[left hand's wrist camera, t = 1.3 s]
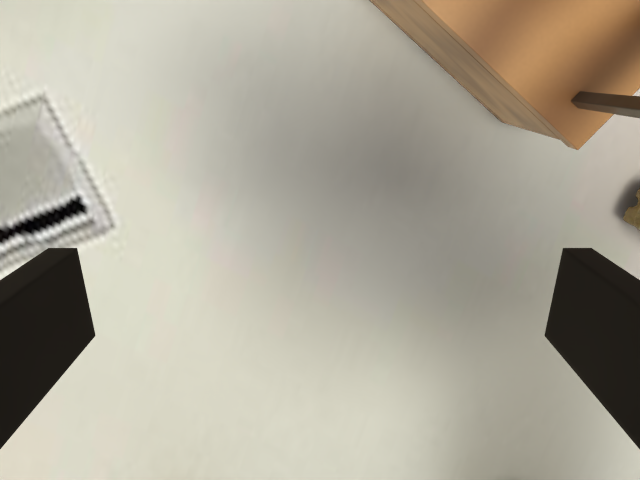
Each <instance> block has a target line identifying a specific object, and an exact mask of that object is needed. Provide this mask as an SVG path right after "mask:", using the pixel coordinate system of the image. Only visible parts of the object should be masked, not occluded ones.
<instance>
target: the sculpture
mask: <svg viewBox="0 0 640 480" xmlns="http://www.w3.org/2000/svg"><path fill="white" fill-rule="evenodd" d="M636 197H637V199H638V204H637V205H636V206H635V207H629V208H628V209H627V211H626V212H625V215H624V217H623V220H624V221H626V222H627V223H629V224H631V225H633V226H635V227H636V228H637V229H638V230H639V231H640V188H639V190H638V191H637V193H636Z"/></svg>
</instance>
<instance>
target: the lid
mask: <svg viewBox="0 0 640 480" xmlns="http://www.w3.org/2000/svg"><path fill="white" fill-rule="evenodd" d="M414 1H415V2H416V3H417V4H418V5H419V6H420V7H421V8H423V9H424V10H425V11H426V12H427V13H428V14H429V15H430V16H431V17H432V18H433V19H434V20H435V21H436V22H437V23H438V24H439V25H440V26H441V27H443V28H444V29H445V30H446V31H447V32H448V33H449V34H450V35H451V36H452V37H453V38H454V39H455V40H456V41H457V42H458V43H459V44H460V45H461V46H462V47H464V48H465V49H466V50H467V51H468V52H469V53H470V54H471V55H472V56H473V57H474V58H475V59H476V60H477V61H478V62H479V63H480V64H481V65H482V66H484V67H485V68H486V69H487V70H488V71H489V72H490V73H491V74H492V75H493V76H494V77H495V78H496V79H497V80H498V81H499V82H500V83H501V84H502V85H504V86H505V87H506V88H507V89H508V90H509V91H510V92H511V93H512V94H513V95H514V96H515V97H516V98H517V99H518V100H519V101H520V102H521V103H522V104H523V105H525V106H526V107H527V108H528V109H529V110H530V111H531V112H532V113H533V114H534V115H535V116H536V117H537V118H538V119H539V120H540V121H541V122H542V123H543V124H545V125H546V126H547V127H548V128H549V129H550V130H551V131H552V132H553V133H554V134H555V135H556V136H557V137H558V138H559V139H560V140H561V141H562V142H563V143H564V144H566V145H567V146H568V147H570V148H573V149H576V150H578V149H579V148H580V147H581V146H582V145H583V144H584V143H585V142H586V141H587V140H588V139H589V138H590V137H591V136H592V135H593V134H594V133H595V132H596V131H597V130H598V129H599V128H600V127H601V126H602V125H603V124H604V123H605V122H606V121H607V120H608V119H609V118H610V117H611V116H612V115H613V114H617V115H623V116H629V117H636V118H640V97H639V96H632V95H633V94H634V93H635V92H636V91H637V90H638V89H639V88H640V0H414Z"/></svg>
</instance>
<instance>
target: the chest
mask: <svg viewBox="0 0 640 480" xmlns="http://www.w3.org/2000/svg"><path fill="white" fill-rule="evenodd" d="M370 1H371V2H372V3H373V4H374V5H375V6H376V7H378V8H379V9H380V10H381V11H382V12H383V13H384V14H385V15H386V16H387V17H388V18H389V19H391V20H392V21H393V22H394V23H395V24H396V25H397V26H398V27H399V28H400V29H401V30H402V31H404V32H405V33H406V34H407V35H408V36H409V37H410V38H411V39H412V40H413V41H414V42H415V43H417V44H418V45H419V46H420V47H421V48H422V49H423V50H424V51H425V52H426V53H427V54H428V55H430V56H431V57H432V58H433V59H434V60H435V61H436V62H437V63H438V64H439V65H440V66H441V67H443V68H444V69H445V70H446V71H447V72H448V73H449V74H450V75H451V76H452V77H453V78H454V79H456V80H457V81H458V82H459V83H460V84H461V85H462V86H463V87H464V88H465V89H466V90H467V91H469V92H470V93H471V94H472V95H473V96H474V97H475V98H476V99H477V100H478V101H479V102H480V103H482V104H483V105H484V106H485V107H486V108H487V109H488V110H489V111H490V112H491V113H492V114H493V115H495V116H496V117H497V118H498V119H499V120H500V121H501V122H503V123H506V124H510V125H513V126H516V127H520V128H523V129H526V130H530V131H533V132H536V133H539V134H543V135H546V136H549V137H553V138H556V139H559V138H558V137H557V136H556V135H555V134H554V133H553V132H552V131H551V130H550V129H549V128H548V127H547V126H546V125H545V124H543V123H542V122H541V121H540V120H539V119H538V118H537V117H536V116H535V115H534V114H533V113H532V112H531V111H530V110H529V109H528V108H527V107H526V106H525V105H523V104H522V103H521V102H520V101H519V100H518V99H517V98H516V97H515V96H514V95H513V94H512V93H511V92H510V91H509V90H508V89H507V88H506V87H505V86H504V85H502V84H501V83H500V82H499V81H498V80H497V79H496V78H495V77H494V76H493V75H492V74H491V73H490V72H489V71H488V70H487V69H486V68H485V67H484V66H482V65H481V64H480V63H479V62H478V61H477V60H476V59H475V58H474V57H473V56H472V55H471V54H470V53H469V52H468V51H467V50H466V49H465V48H464V47H462V46H461V45H460V44H459V43H458V42H457V41H456V40H455V39H454V38H453V37H452V36H451V35H450V34H449V33H448V32H447V31H446V30H445V29H444V28H443V27H441V26H440V25H439V24H438V23H437V22H436V21H435V20H434V19H433V18H432V17H431V16H430V15H429V14H428V13H427V12H426V11H425V10H424V9H423V8H421V7H420V6H419V5H418V4H417V3H416V2H415V1H414V0H370ZM559 140H560V139H559Z"/></svg>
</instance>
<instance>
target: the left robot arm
mask: <svg viewBox="0 0 640 480" xmlns="http://www.w3.org/2000/svg"><path fill="white" fill-rule="evenodd" d="M94 337H95V331H94V327H93V322H92V317H91V312H90V308H89V303H88V298H87V293H86V289H85V284H84V279H83V274H82V270H81V265H80V260H79V255H78V251H77V248H48V249H47V250H45V251H44V252H42V253H41V254H39V255H38V256H36V257H35V258H33V259H32V260H30V261H29V262H27V263H26V264H24V265H23V266H21V267H20V268H18V269H17V270H15V271H14V272H12V273H11V274H9V275H8V276H6V277H5V278H3V279H2V280H0V449H1V448H2V446H3V445H4V444H5V443H6V442H7V441H8V439H9V438H10V437H11V436H12V435H13V433H14V432H15V431H16V430H17V429H18V427H19V426H20V425H21V424H22V423H23V421H24V420H25V419H26V418H27V417H28V415H29V414H30V413H31V412H32V411H33V409H34V408H35V407H36V406H37V405H38V404H39V402H40V401H41V400H42V399H43V398H44V396H45V395H46V394H47V393H48V392H49V390H50V389H51V388H52V387H53V386H54V384H55V383H56V382H57V381H58V380H59V378H60V377H61V376H62V375H63V374H64V372H65V371H66V370H67V369H68V368H69V366H70V365H71V364H72V363H73V362H74V361H75V359H76V358H77V357H78V356H79V355H80V353H81V352H82V351H83V350H84V349H85V347H86V346H87V345H88V344H89V343H90V341H91V340H92V339H93V338H94ZM545 337H546V338H547V339H548V340H549V341H550V343H551V344H552V345H553V346H554V347H555V349H556V350H557V351H558V352H559V353H560V355H561V356H562V357H563V358H564V359H565V361H566V362H567V363H568V364H569V365H570V366H571V368H572V369H573V370H574V371H575V372H576V374H577V375H578V376H579V377H580V378H581V380H582V381H583V382H584V383H585V384H586V386H587V387H588V388H589V389H590V390H591V392H592V393H593V394H594V395H595V396H596V398H597V399H598V400H599V401H600V402H601V404H602V405H603V406H604V407H605V408H606V409H607V411H608V412H609V413H610V414H611V415H612V417H613V418H614V419H615V420H616V421H617V423H618V424H619V425H620V426H621V427H622V429H623V430H624V431H625V432H626V433H627V435H628V436H629V437H630V438H631V439H632V441H633V442H634V443H635V444H636V445H637V446H638V448H639V449H640V280H638V279H637V278H635V277H634V276H632V275H631V274H629V273H628V272H626V271H625V270H623V269H622V268H620V267H619V266H617V265H616V264H614V263H613V262H611V261H610V260H608V259H607V258H605V257H604V256H602V255H601V254H599V253H598V252H596V251H595V250H593V249H592V248H563V251H562V255H561V260H560V265H559V270H558V274H557V279H556V284H555V289H554V293H553V298H552V303H551V308H550V312H549V317H548V322H547V327H546V331H545Z"/></svg>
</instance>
